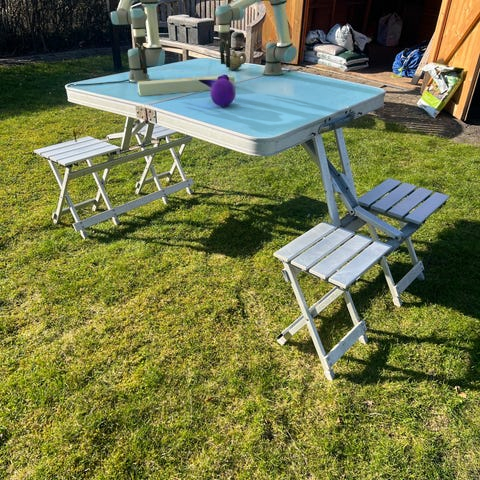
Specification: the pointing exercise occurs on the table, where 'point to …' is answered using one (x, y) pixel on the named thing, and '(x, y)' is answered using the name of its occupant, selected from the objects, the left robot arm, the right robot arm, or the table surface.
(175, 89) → the thick block
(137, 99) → the table surface
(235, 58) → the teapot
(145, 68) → the left robot arm
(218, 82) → the toy
